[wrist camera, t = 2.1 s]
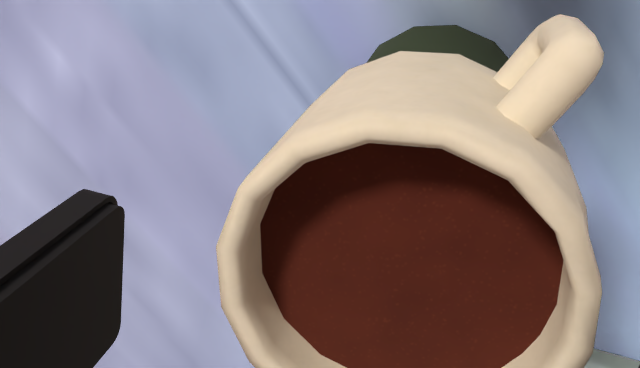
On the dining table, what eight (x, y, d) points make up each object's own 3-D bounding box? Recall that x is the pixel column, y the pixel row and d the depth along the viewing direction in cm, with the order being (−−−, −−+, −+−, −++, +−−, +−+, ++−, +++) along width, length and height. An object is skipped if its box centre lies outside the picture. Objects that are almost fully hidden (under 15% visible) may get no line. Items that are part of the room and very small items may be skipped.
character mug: (423, 257, 25) (377, 545, 14) (284, 157, 25) (117, 363, 13) (624, 44, 20) (819, 211, 9) (454, -85, 20) (423, -89, 8)
